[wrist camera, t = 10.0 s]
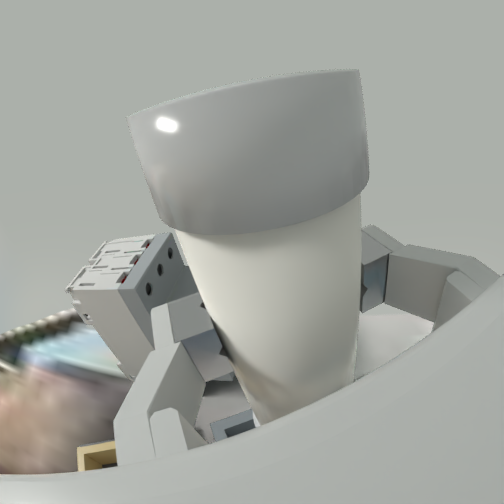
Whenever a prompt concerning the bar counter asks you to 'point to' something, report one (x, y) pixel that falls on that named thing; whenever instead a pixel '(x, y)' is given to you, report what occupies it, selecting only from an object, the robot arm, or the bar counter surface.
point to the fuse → (269, 223)
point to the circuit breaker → (131, 294)
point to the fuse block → (97, 455)
